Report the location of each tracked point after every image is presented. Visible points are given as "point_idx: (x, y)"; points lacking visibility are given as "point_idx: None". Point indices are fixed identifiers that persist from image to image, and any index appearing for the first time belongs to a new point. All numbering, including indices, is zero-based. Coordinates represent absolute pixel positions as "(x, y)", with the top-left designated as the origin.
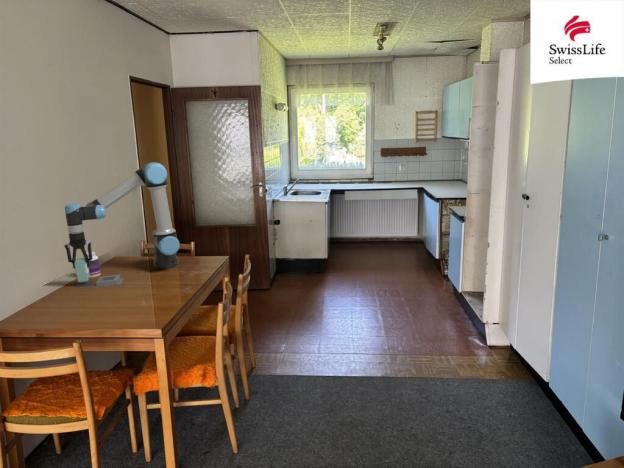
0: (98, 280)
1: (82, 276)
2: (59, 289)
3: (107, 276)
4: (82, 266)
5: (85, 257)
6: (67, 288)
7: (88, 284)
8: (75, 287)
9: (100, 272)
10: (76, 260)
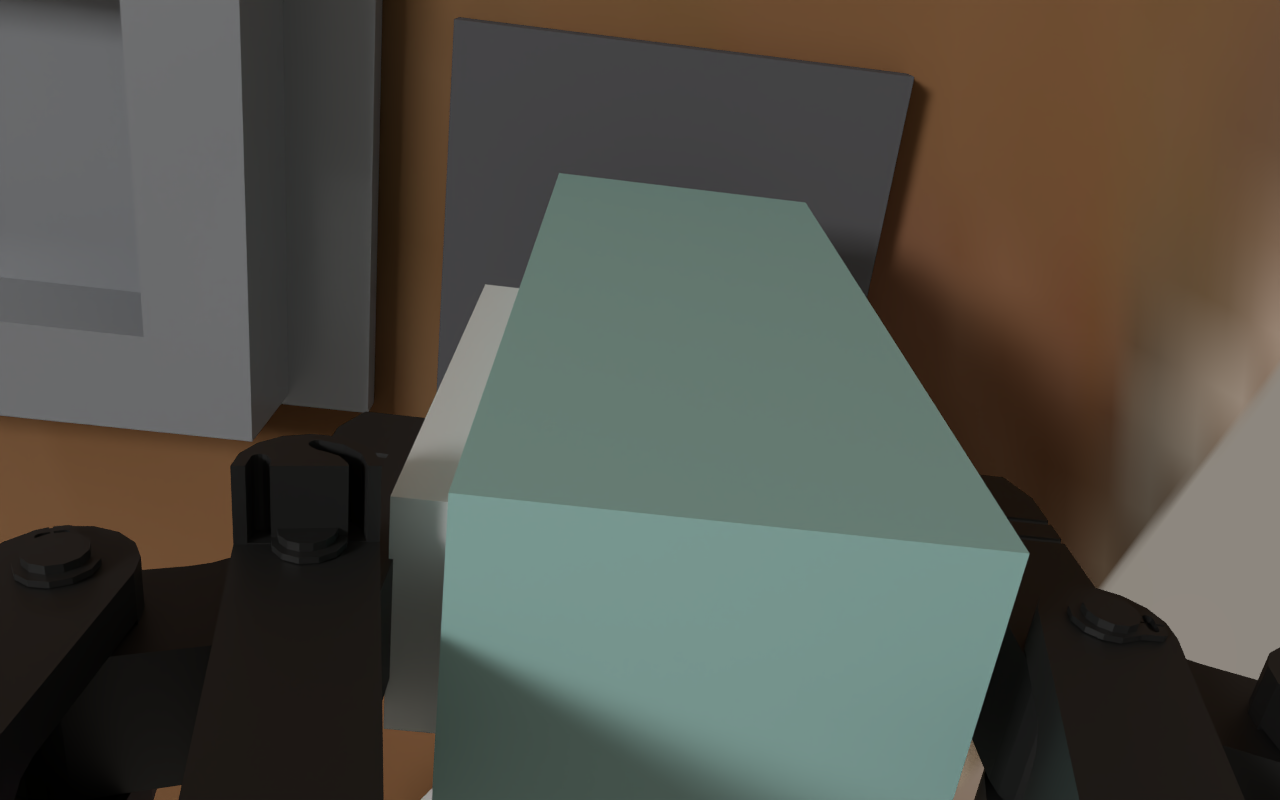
0: (209, 64)
1: (670, 224)
2: (1244, 214)
3: (40, 376)
4: (611, 345)
5: (301, 695)
6: (1059, 205)
7: None
8: (869, 94)
9: None
10: (932, 635)
